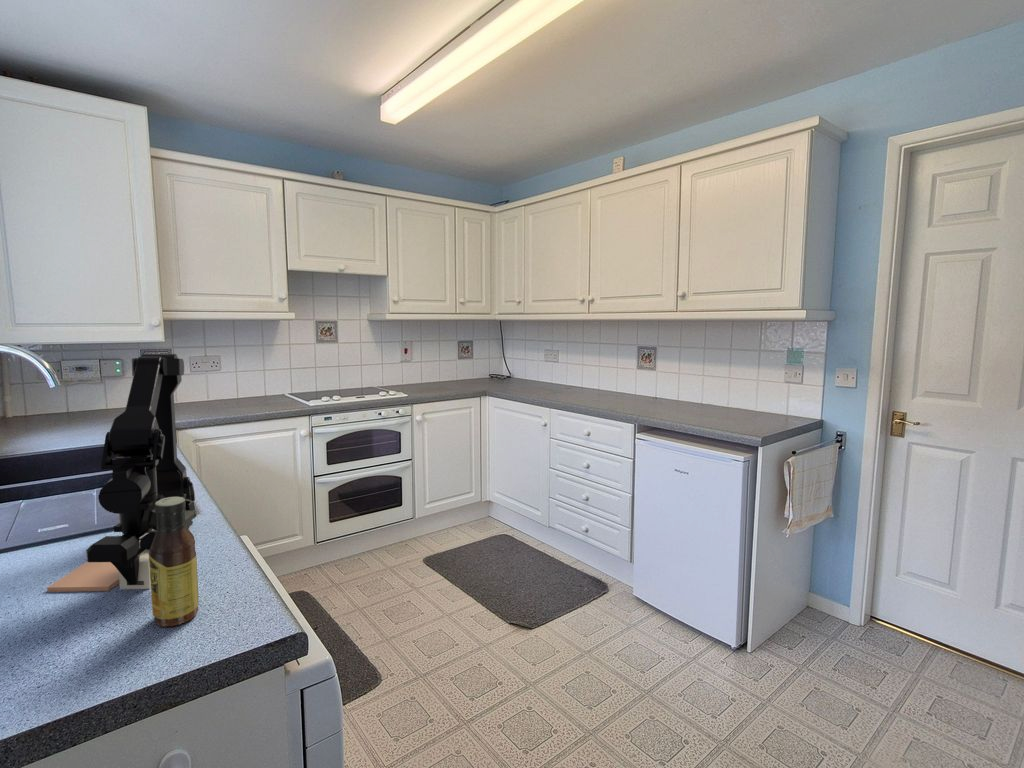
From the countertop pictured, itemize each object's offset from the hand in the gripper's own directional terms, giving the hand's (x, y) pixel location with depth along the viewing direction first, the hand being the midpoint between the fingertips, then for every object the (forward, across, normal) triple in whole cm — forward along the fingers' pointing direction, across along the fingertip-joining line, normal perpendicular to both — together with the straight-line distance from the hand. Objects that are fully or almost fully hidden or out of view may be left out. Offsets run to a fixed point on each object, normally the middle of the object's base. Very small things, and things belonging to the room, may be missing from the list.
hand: (143, 576), depth 94 cm
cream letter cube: (+1, 0, 0) cm, 1 cm away
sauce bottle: (+1, -12, -12) cm, 17 cm away
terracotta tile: (+1, +2, +9) cm, 9 cm away
